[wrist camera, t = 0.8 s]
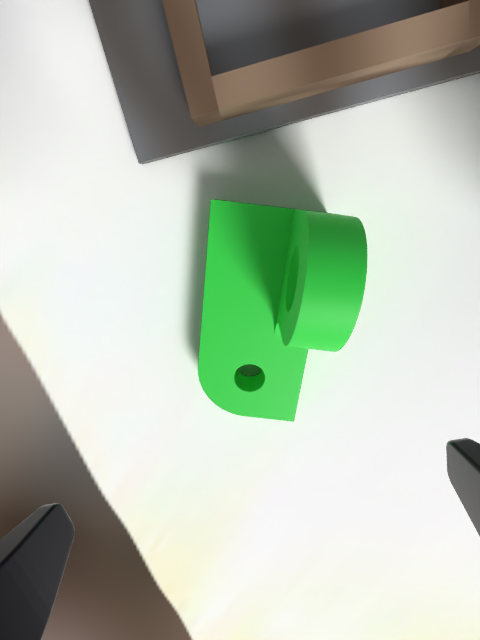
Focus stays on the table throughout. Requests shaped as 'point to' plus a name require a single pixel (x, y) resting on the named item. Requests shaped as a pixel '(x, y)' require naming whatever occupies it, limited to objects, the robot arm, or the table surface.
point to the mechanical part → (275, 301)
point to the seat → (272, 61)
